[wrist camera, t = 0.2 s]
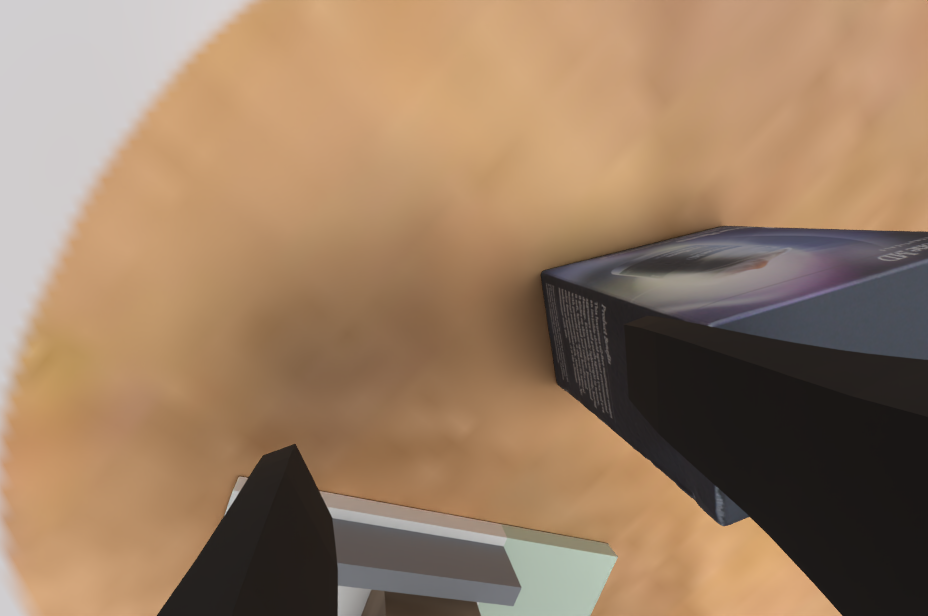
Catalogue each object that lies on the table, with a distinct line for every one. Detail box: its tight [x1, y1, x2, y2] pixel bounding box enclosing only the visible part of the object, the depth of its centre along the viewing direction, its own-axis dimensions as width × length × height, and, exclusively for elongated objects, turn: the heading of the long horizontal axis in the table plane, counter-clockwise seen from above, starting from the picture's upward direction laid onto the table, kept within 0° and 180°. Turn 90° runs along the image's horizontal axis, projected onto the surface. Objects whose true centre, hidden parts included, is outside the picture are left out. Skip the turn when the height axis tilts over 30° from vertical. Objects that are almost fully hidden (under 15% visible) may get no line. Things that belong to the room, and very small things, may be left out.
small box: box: [541, 226, 928, 526], centre depth 17 cm, size 11×6×10 cm, turn 102°
